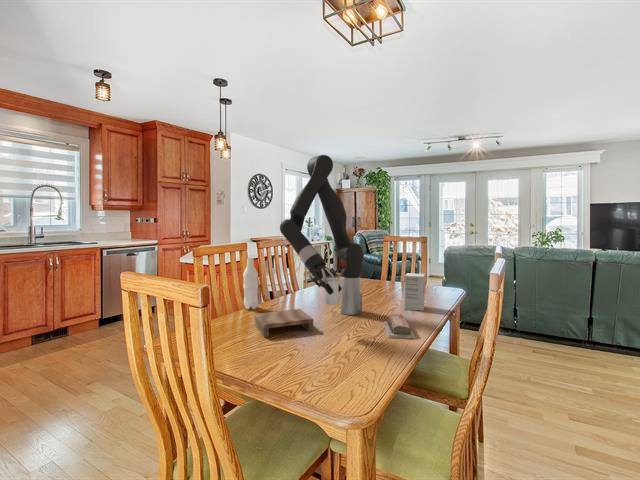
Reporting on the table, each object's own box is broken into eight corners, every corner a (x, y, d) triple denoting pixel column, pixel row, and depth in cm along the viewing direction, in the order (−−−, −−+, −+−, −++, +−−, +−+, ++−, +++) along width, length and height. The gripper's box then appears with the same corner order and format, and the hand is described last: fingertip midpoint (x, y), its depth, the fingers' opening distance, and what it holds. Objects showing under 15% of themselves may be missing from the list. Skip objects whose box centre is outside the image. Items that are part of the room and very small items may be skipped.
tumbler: (335, 300, 141) (335, 276, 140) (340, 303, 136) (340, 278, 136) (323, 302, 139) (323, 277, 138) (328, 305, 134) (328, 279, 134)
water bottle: (255, 310, 171) (254, 259, 169) (241, 309, 173) (240, 259, 171) (260, 306, 178) (259, 257, 176) (247, 306, 180) (246, 257, 178)
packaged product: (383, 313, 150) (407, 313, 149) (383, 324, 151) (407, 325, 150) (388, 326, 132) (415, 327, 132) (388, 339, 133) (415, 339, 132)
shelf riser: (300, 320, 156) (300, 308, 155) (313, 331, 141) (313, 318, 141) (255, 325, 148) (254, 313, 148) (264, 337, 133) (263, 324, 133)
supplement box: (423, 311, 169) (424, 276, 168) (404, 309, 172) (404, 275, 171) (424, 306, 178) (425, 273, 177) (405, 305, 181) (406, 272, 180)
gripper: (305, 254, 135) (330, 289, 129) (327, 251, 147) (351, 283, 140) (295, 267, 139) (319, 301, 132) (317, 262, 150) (341, 294, 144)
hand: (336, 291), depth 136 cm, fingers closed on tumbler, 5 cm apart
